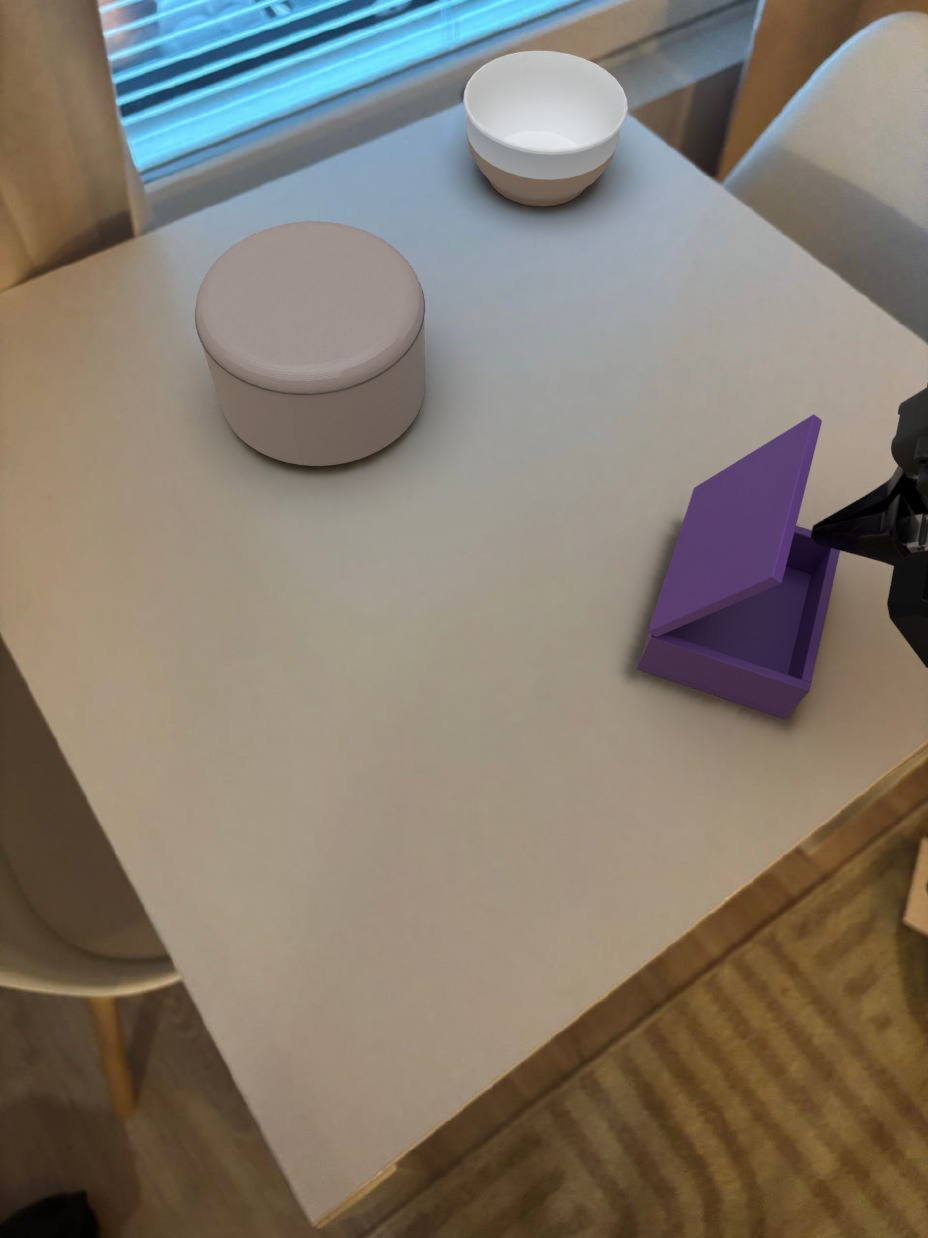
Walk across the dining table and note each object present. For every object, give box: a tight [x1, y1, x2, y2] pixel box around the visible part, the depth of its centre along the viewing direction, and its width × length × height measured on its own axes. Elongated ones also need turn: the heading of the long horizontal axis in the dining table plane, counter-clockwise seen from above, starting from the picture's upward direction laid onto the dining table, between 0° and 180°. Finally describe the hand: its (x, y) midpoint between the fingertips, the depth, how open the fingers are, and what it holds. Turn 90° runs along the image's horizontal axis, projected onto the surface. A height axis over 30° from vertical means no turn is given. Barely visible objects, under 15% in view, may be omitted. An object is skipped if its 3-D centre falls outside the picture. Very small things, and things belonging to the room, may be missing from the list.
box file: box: [636, 525, 841, 720], centre depth 71 cm, size 11×13×5 cm
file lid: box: [647, 414, 823, 637], centre depth 64 cm, size 12×13×1 cm
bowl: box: [462, 50, 629, 207], centre depth 95 cm, size 16×16×8 cm
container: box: [194, 220, 426, 467], centre depth 78 cm, size 18×18×12 cm
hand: (814, 535), depth 62 cm, fingers closed
